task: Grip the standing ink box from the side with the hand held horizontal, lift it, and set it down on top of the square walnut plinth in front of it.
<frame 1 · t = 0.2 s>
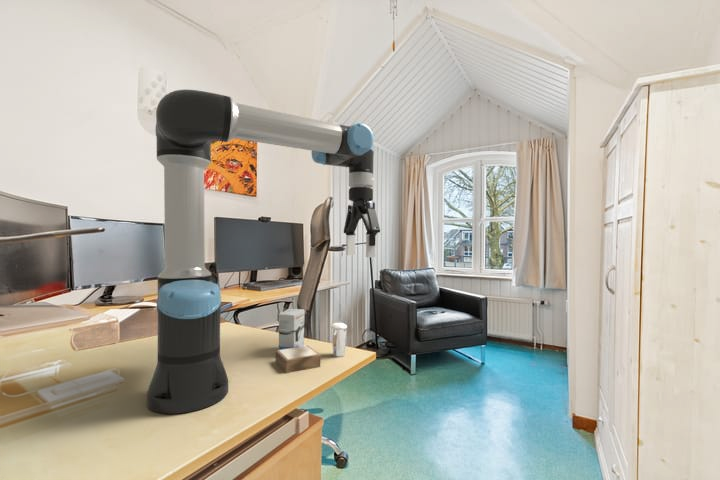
hand: (360, 256, 108), 28 cm above the table, tool pointing down, fingers open, 13 cm apart
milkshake: (340, 355, 98), on the table
ink box: (291, 352, 101), on the table
plinth: (297, 364, 91), on the table
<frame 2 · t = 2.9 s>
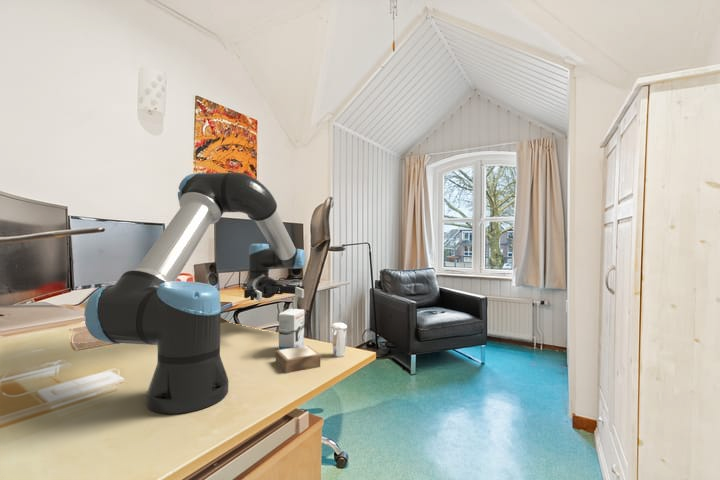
hand: (282, 295, 109), 15 cm above the table, tool horizontal, fingers open, 13 cm apart
nothing on the table moved.
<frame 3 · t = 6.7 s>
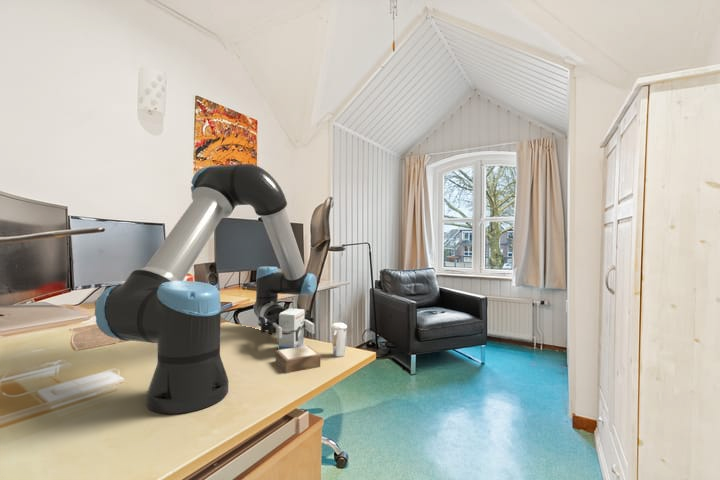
hand: (297, 331, 97), 7 cm above the table, tool horizontal, fingers closed on ink box, 9 cm apart
ink box: (291, 352, 101), on the table, touching gripper
everything else where it was.
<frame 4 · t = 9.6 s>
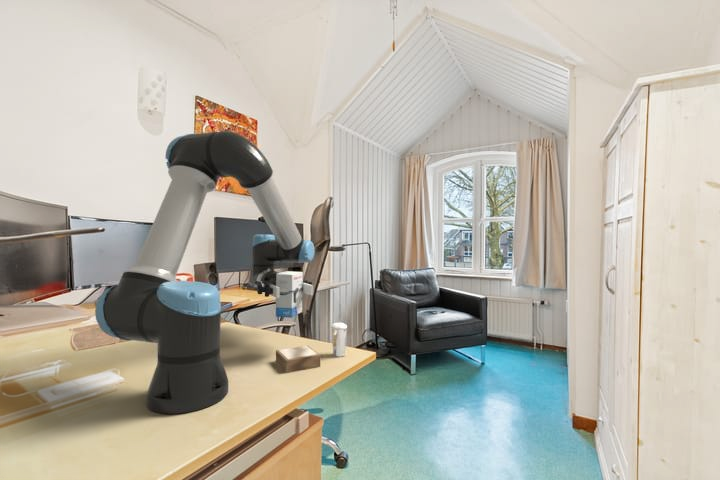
hand: (295, 291, 93), 19 cm above the table, tool horizontal, fingers closed on ink box, 9 cm apart
ink box: (289, 315, 97), point 11 cm above the table, touching gripper
everything else where it was.
when the fingers open (11 cm above the table, at t = 12.7 s): ink box drops 1 cm, resting on plinth.
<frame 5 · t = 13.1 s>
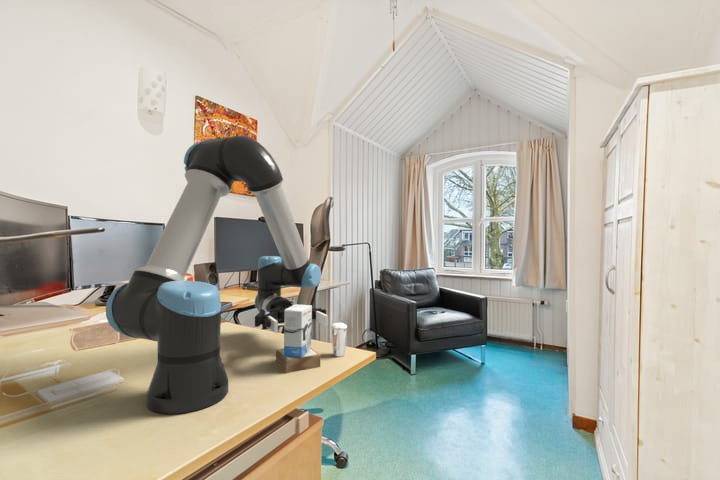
hand: (302, 323, 88), 11 cm above the table, tool horizontal, fingers open, 13 cm apart
ink box: (298, 352, 91), point 3 cm above the table, touching plinth
everything else where it was.
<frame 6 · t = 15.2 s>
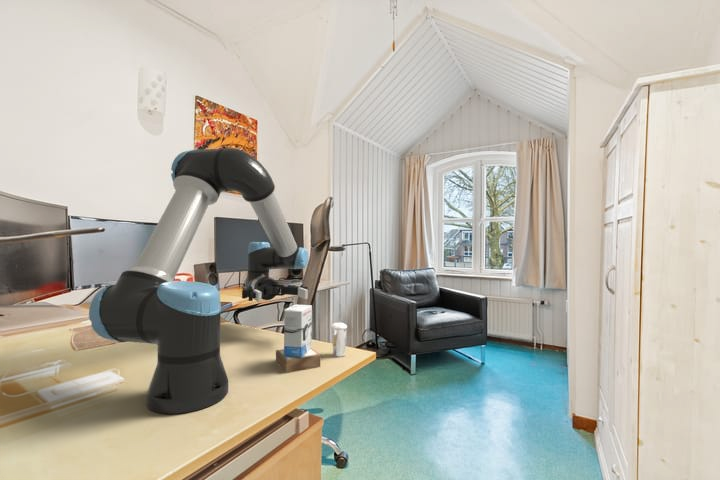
hand: (284, 295, 99), 17 cm above the table, tool horizontal, fingers open, 13 cm apart
nothing on the table moved.
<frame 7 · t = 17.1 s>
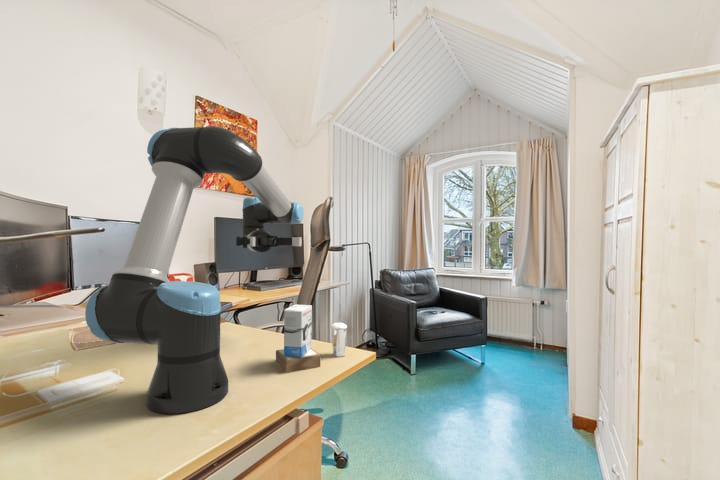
hand: (278, 241, 100), 32 cm above the table, tool horizontal, fingers open, 13 cm apart
nothing on the table moved.
at the end: ink box inside the target area on the plinth (0.2 cm from its centre), point 2.9 cm above the plinth's base; ink box tilted 0°; the gripper is holding nothing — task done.
